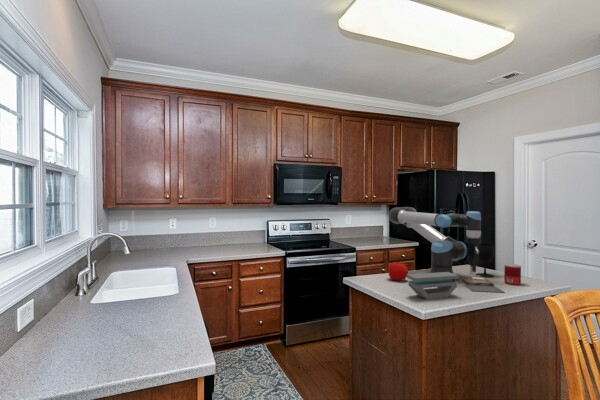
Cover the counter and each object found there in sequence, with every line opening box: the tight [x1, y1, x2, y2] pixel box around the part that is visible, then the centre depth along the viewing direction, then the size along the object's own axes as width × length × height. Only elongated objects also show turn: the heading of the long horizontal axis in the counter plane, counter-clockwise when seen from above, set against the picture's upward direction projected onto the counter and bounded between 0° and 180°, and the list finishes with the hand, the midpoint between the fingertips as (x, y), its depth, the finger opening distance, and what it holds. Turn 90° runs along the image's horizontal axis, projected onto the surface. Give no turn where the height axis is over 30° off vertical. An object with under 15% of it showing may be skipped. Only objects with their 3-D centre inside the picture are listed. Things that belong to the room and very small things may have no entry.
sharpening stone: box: [406, 272, 460, 301], centre depth 163 cm, size 25×8×11 cm, turn 105°
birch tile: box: [467, 274, 487, 283], centre depth 187 cm, size 9×6×2 cm, turn 171°
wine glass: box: [476, 243, 496, 279], centre depth 207 cm, size 10×10×20 cm
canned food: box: [504, 263, 522, 286], centre depth 188 cm, size 8×8×11 cm
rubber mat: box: [464, 284, 506, 294], centre depth 176 cm, size 16×11×1 cm
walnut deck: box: [460, 277, 495, 286], centre depth 187 cm, size 14×10×2 cm
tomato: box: [388, 261, 409, 282], centre depth 195 cm, size 12×12×11 cm
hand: (473, 276), depth 193 cm, fingers closed
